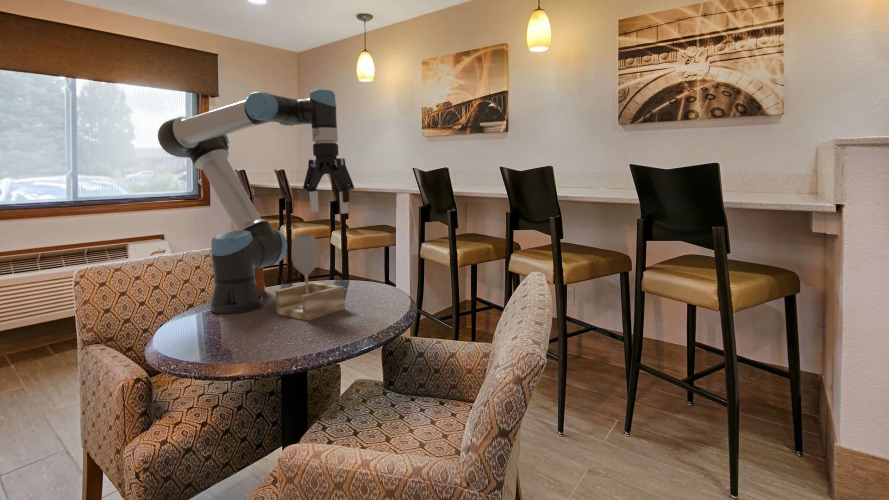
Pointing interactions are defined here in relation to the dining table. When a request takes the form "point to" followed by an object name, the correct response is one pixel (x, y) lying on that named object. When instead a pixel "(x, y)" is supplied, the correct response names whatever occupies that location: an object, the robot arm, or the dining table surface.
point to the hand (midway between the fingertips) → (329, 212)
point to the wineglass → (304, 256)
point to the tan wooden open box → (310, 300)
